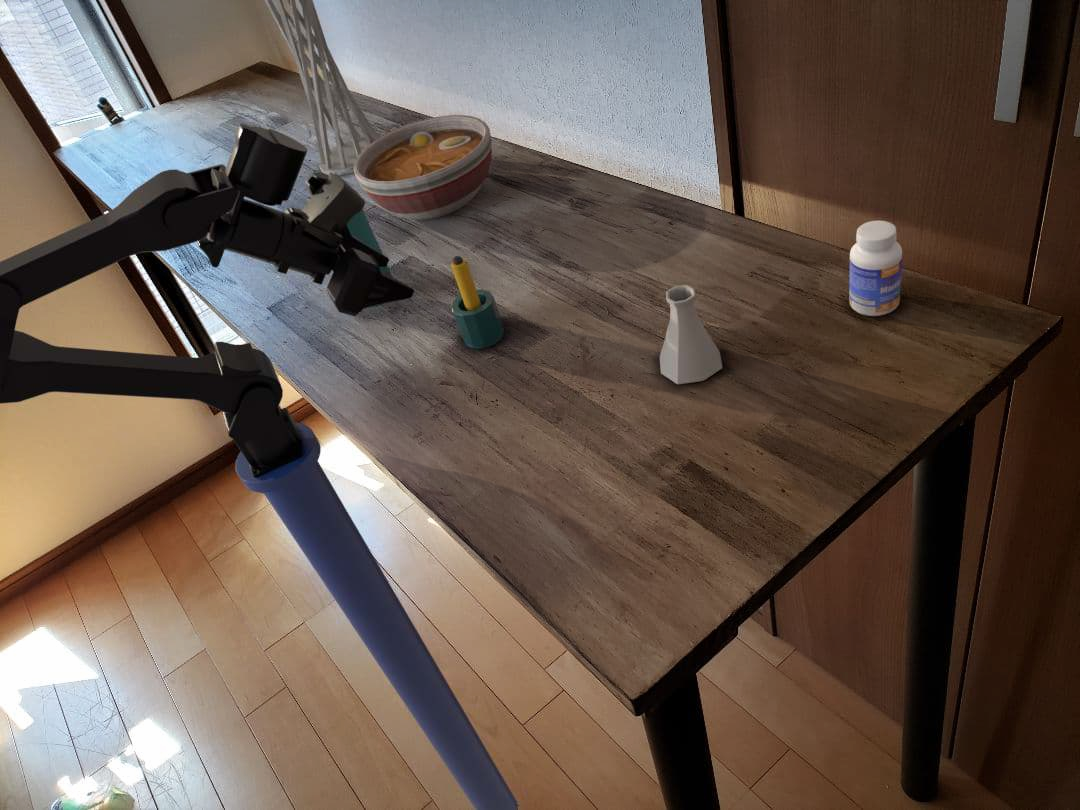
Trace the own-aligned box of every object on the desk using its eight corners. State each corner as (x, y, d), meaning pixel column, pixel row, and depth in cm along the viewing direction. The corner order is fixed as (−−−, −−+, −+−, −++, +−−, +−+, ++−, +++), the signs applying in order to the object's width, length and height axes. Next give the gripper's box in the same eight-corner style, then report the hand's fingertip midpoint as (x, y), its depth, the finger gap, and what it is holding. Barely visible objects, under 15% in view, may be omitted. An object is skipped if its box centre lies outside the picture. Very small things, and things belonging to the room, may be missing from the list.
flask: (673, 393, 93) (661, 322, 87) (649, 357, 99) (636, 288, 92) (733, 371, 93) (726, 299, 87) (706, 336, 99) (698, 266, 92)
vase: (393, 136, 167) (324, -53, 144) (377, 168, 157) (300, -30, 135) (331, 148, 170) (254, -36, 148) (311, 180, 161) (226, -12, 138)
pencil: (478, 339, 108) (451, 263, 101) (473, 332, 110) (446, 256, 102) (492, 333, 109) (466, 256, 101) (487, 326, 110) (461, 250, 103)
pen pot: (472, 354, 107) (459, 320, 104) (458, 334, 111) (446, 300, 108) (509, 337, 108) (498, 303, 104) (495, 317, 112) (484, 284, 108)
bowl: (465, 155, 153) (449, 103, 146) (530, 191, 136) (515, 134, 130) (354, 211, 146) (332, 158, 140) (409, 255, 130) (386, 198, 124)
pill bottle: (886, 322, 94) (890, 248, 87) (840, 310, 97) (841, 238, 91) (907, 295, 96) (912, 221, 90) (862, 285, 99) (863, 213, 93)
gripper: (322, 196, 81) (457, 246, 90) (280, 141, 94) (401, 189, 104) (281, 298, 84) (415, 335, 94) (246, 231, 98) (366, 269, 107)
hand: (399, 277), depth 100 cm, fingers open, 9 cm apart
